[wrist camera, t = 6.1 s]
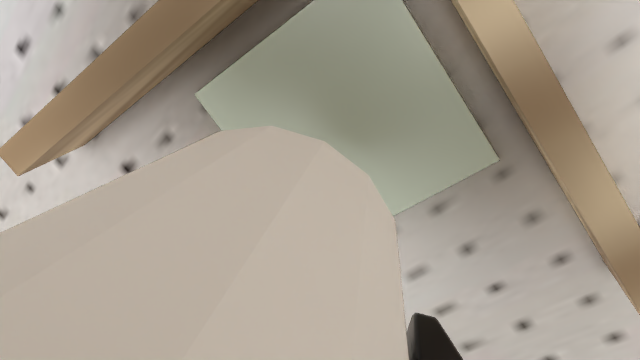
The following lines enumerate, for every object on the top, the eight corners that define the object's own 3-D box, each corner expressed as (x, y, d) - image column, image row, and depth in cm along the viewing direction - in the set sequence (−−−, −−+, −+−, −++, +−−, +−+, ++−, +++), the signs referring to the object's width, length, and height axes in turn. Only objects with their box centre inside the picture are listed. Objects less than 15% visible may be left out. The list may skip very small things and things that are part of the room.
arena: (638, 255, 19) (690, 319, 15) (291, 392, 25) (270, 459, 22) (399, -169, 15) (392, -218, 11) (67, 124, 22) (-4, 152, 18)
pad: (498, 157, 18) (499, 160, 18) (317, 252, 22) (316, 256, 21) (373, -46, 16) (373, -47, 16) (197, 93, 20) (194, 94, 19)
